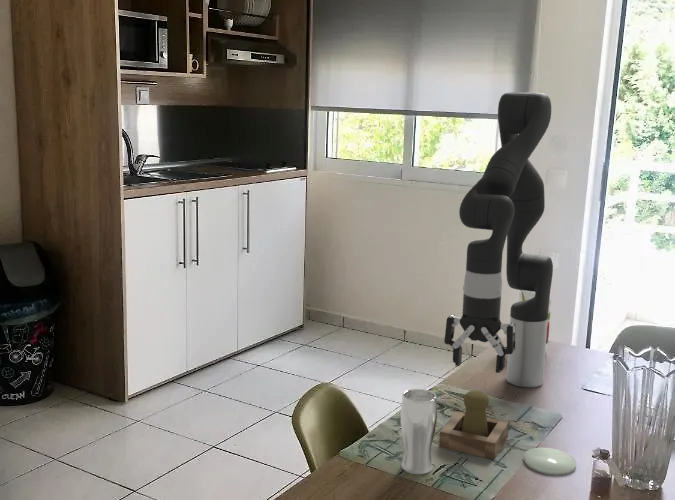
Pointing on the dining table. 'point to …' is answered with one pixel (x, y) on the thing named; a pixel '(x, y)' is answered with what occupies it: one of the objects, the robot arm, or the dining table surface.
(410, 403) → the beer glass
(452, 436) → the frame
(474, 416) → the olive pawn
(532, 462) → the coaster
